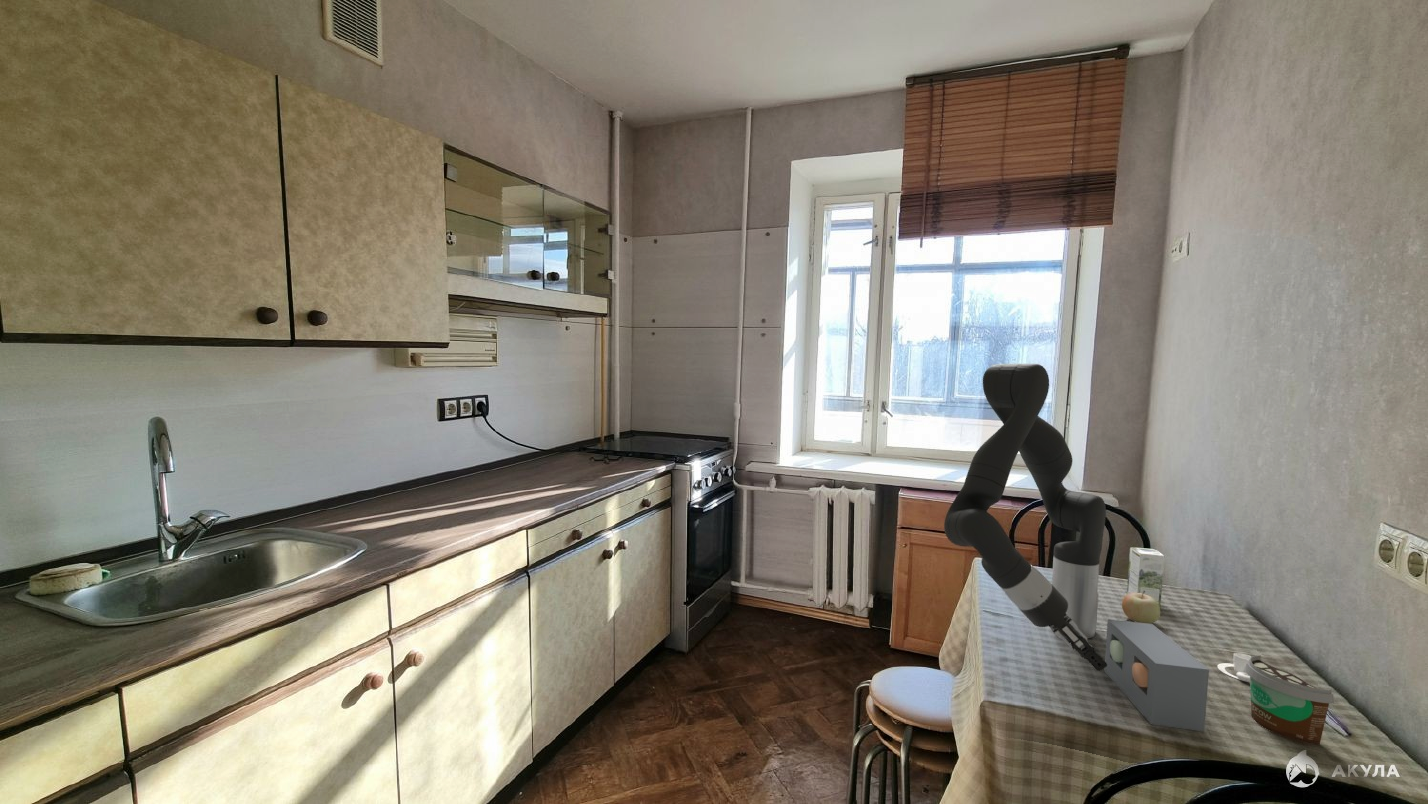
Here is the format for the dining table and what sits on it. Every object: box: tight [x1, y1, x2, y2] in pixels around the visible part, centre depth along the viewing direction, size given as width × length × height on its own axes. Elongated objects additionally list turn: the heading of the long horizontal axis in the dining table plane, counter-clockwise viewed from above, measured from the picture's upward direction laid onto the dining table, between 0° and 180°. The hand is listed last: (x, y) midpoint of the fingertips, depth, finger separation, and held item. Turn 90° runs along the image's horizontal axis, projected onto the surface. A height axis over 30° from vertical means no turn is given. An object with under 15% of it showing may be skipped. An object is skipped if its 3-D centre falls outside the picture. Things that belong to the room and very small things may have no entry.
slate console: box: [1103, 618, 1210, 732], centre depth 106 cm, size 8×18×11 cm, turn 167°
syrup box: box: [1126, 546, 1165, 608], centre depth 152 cm, size 6×6×14 cm
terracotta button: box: [1132, 663, 1149, 687], centre depth 102 cm, size 4×4×4 cm
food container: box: [1245, 654, 1335, 745], centre depth 99 cm, size 12×6×10 cm, turn 5°
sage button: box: [1110, 640, 1124, 663], centre depth 111 cm, size 4×4×4 cm
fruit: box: [1121, 591, 1161, 624], centre depth 141 cm, size 8×7×8 cm
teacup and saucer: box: [1216, 652, 1252, 684], centre depth 116 cm, size 9×8×4 cm
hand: (1101, 666), depth 104 cm, fingers closed
